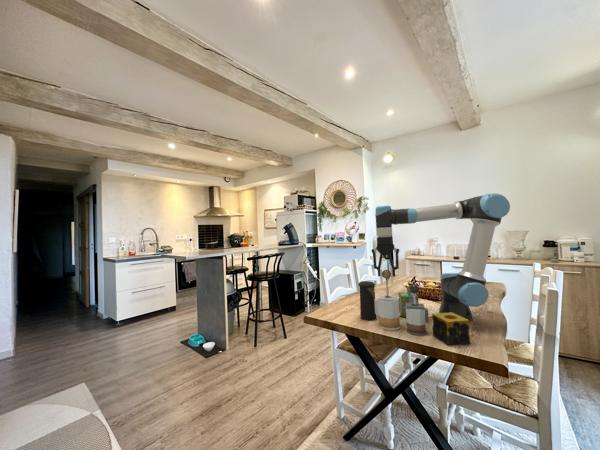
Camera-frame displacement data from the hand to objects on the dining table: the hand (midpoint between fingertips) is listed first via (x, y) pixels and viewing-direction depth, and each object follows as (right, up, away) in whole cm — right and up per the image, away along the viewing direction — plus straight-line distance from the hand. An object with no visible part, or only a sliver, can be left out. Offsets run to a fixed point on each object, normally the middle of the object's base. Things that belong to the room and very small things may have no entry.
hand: (386, 282), depth 124 cm
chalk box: (+17, -21, +14) cm, 31 cm away
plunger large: (+1, -11, 0) cm, 11 cm away
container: (-6, -22, +12) cm, 26 cm away
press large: (+1, -22, 0) cm, 22 cm away
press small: (+11, -21, -8) cm, 25 cm away
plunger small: (+10, -15, -8) cm, 20 cm away
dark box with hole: (+21, -20, -18) cm, 34 cm away
